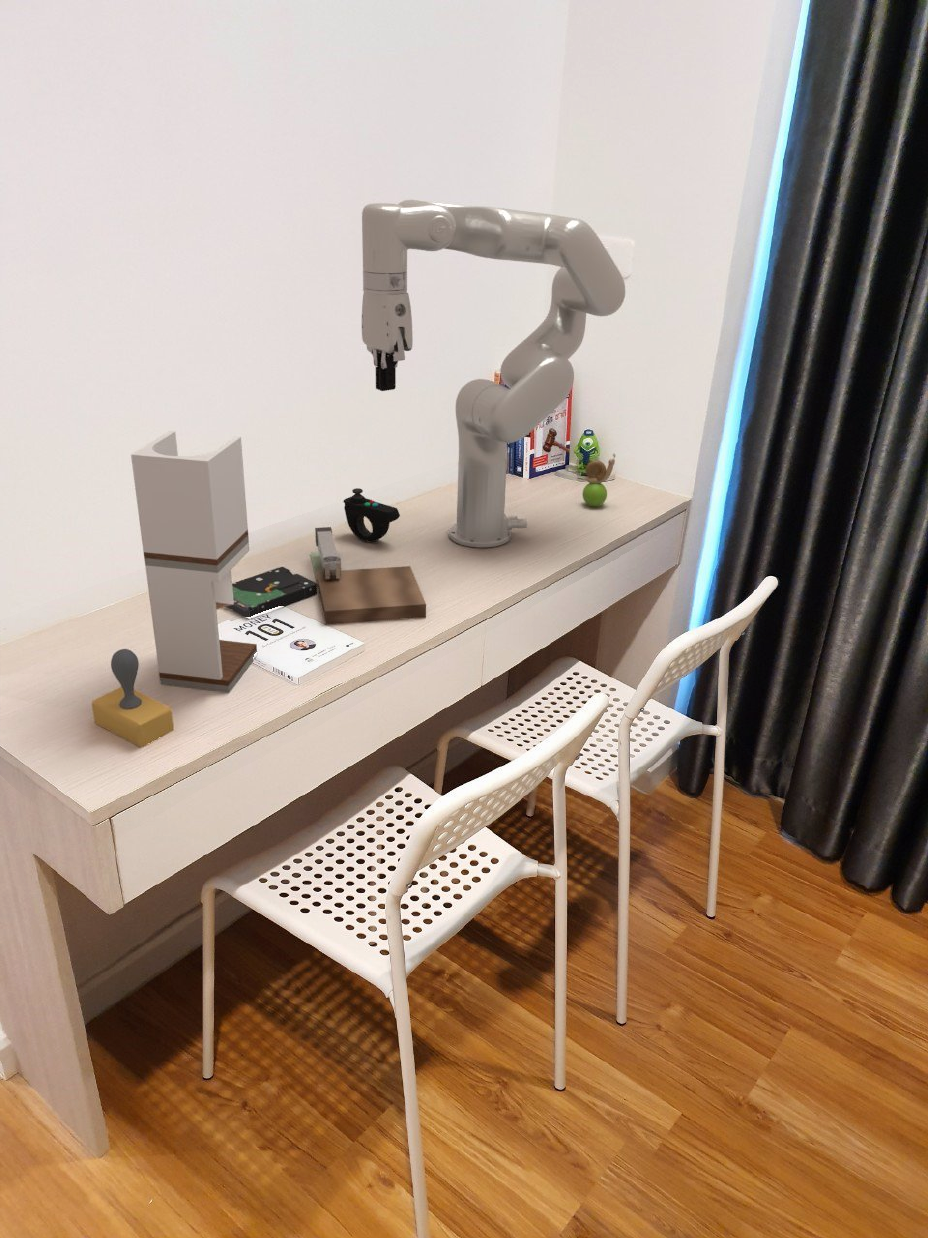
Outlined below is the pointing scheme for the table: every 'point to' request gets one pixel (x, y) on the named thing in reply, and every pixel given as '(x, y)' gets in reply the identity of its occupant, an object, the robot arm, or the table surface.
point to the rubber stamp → (131, 706)
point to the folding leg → (328, 553)
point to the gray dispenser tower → (192, 558)
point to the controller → (368, 516)
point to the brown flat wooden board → (369, 594)
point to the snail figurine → (597, 482)
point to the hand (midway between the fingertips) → (385, 388)
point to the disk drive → (270, 591)
